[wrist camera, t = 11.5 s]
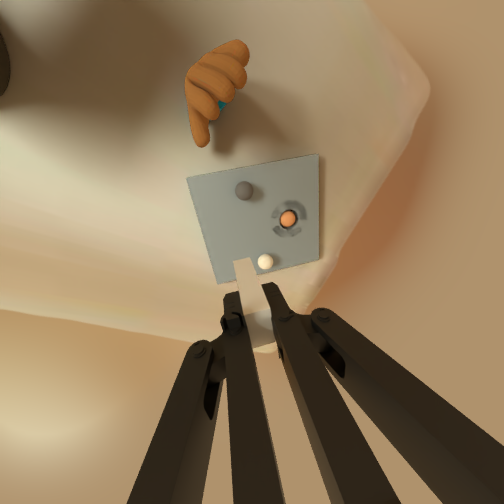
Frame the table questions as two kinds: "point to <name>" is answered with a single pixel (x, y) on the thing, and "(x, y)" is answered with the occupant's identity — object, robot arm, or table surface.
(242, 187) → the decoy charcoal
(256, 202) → the grey flat plate
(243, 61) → the toy
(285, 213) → the ball
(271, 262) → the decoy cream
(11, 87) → the table surface
